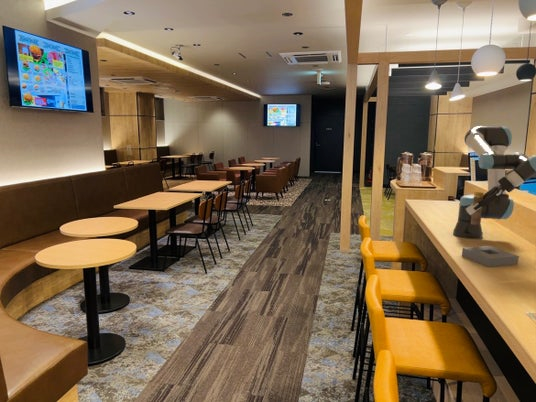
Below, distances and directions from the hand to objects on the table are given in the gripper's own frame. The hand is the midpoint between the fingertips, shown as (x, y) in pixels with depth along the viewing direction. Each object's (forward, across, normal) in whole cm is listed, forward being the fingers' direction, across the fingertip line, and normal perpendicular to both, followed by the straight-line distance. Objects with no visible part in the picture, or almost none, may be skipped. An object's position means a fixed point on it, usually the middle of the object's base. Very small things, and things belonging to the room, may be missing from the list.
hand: (468, 212), depth 196 cm
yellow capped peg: (+1, 0, -7) cm, 7 cm away
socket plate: (+7, -17, -20) cm, 27 cm away
